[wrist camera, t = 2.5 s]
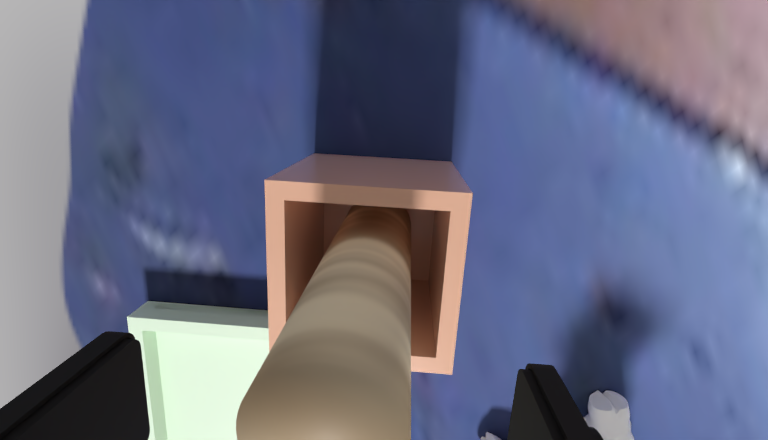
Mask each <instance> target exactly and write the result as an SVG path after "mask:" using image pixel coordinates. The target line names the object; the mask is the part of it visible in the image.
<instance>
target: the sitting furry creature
mask: <svg viewBox="0 0 768 440" xmlns="http://www.w3.org/2000/svg"><path fill="white" fill-rule="evenodd" d="M588 412H589V413H588V414H587V415H586V416H585V417H583V418H584V419H585V421H586V423H587V425H588V426H589V427H593V428H595V429H596V430H597V431H598V432H599V433H600V435H601V436H602V438H603V440H634V437H633V435H632V433H631V422H630V420H629V419H630V411H629V406H628V402H627V400H626V399H625V398H624V397H623V396H622V395H620V394H619V393H616V392H614V391H605V392H604V393H603V394H602V393H601V392H600V391H599V390H597V391H596V392H594V393H592V394H591V395H590V397H589V402H588ZM480 440H501V439H500V438H498V437H497V436H495V435H493V434H491V433H489V432H486V437H483V436H482V437H481V439H480Z"/></svg>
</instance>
